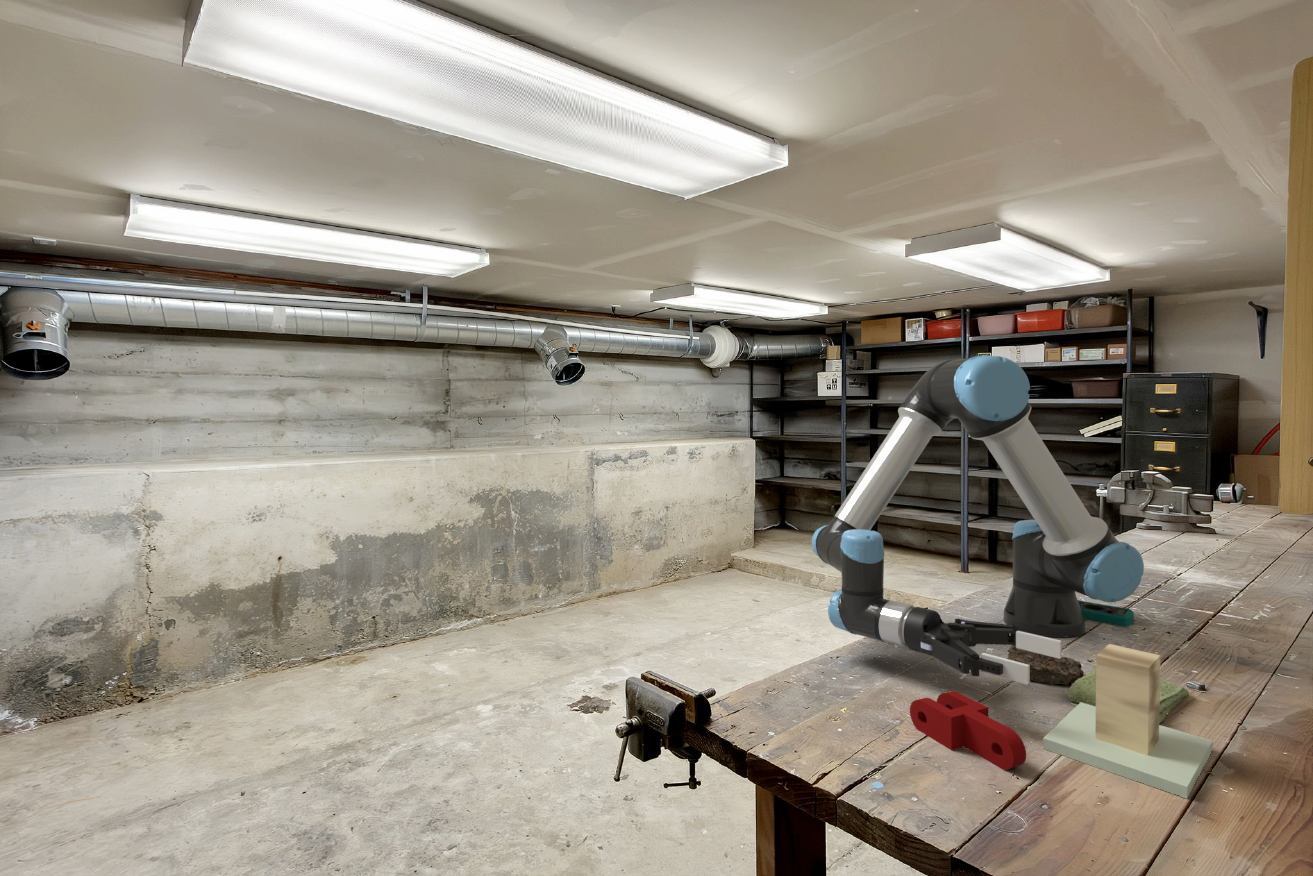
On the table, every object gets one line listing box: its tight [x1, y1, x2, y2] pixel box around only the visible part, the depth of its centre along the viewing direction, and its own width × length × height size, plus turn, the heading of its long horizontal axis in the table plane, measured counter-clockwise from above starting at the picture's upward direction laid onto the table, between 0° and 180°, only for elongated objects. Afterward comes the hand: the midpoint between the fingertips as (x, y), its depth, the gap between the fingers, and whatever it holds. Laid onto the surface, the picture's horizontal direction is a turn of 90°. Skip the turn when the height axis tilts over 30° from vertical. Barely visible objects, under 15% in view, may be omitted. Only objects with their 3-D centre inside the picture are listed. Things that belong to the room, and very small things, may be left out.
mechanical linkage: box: [909, 690, 1027, 771], centre depth 93 cm, size 16×7×5 cm, turn 22°
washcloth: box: [1066, 666, 1190, 724], centre depth 106 cm, size 13×18×3 cm
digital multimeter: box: [1077, 599, 1135, 628], centre depth 146 cm, size 7×15×3 cm, turn 45°
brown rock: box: [1006, 645, 1085, 685], centre depth 115 cm, size 12×10×5 cm
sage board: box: [1042, 702, 1214, 800], centre depth 91 cm, size 16×16×2 cm
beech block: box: [1095, 643, 1161, 755], centre depth 91 cm, size 6×6×12 cm
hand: (1045, 661), depth 98 cm, fingers open, 13 cm apart
